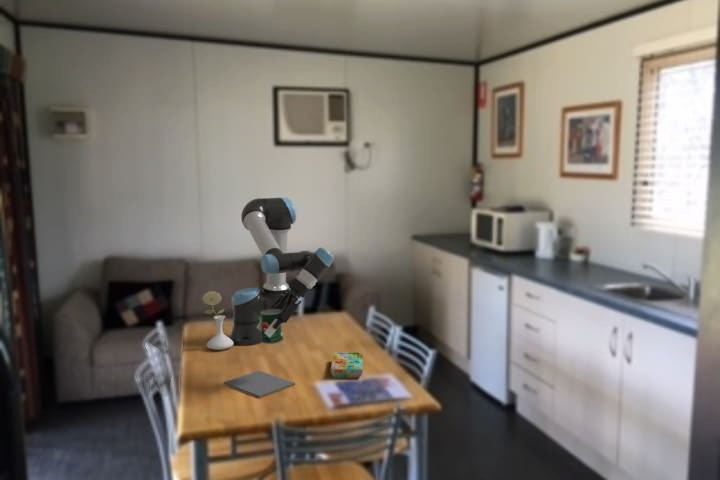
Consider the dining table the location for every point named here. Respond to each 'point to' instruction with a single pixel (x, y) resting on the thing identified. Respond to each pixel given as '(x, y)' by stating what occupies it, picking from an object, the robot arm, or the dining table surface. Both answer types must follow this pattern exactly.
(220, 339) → the flower in vase
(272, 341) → the canned tomato
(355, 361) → the puzzle game
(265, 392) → the mat
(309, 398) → the dining table surface
